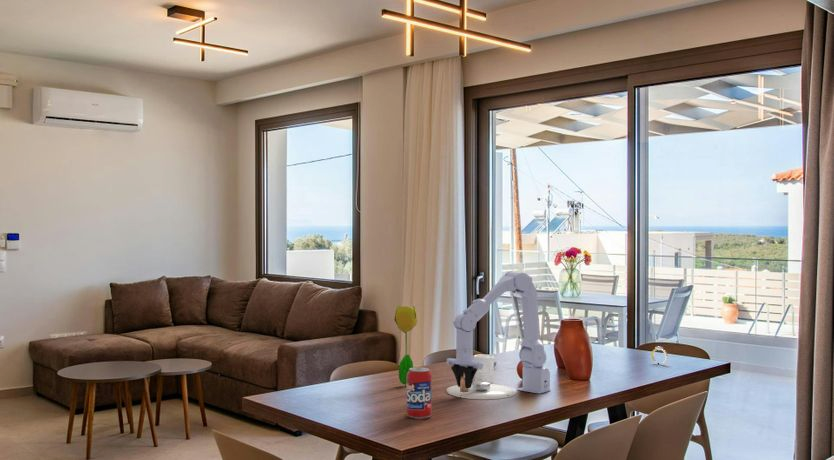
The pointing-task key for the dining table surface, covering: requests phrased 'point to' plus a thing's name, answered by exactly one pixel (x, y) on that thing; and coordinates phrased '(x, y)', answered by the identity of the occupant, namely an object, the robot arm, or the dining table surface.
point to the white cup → (485, 368)
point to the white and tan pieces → (476, 385)
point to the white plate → (483, 392)
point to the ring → (659, 349)
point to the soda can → (419, 393)
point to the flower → (405, 323)
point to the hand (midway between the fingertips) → (464, 387)
